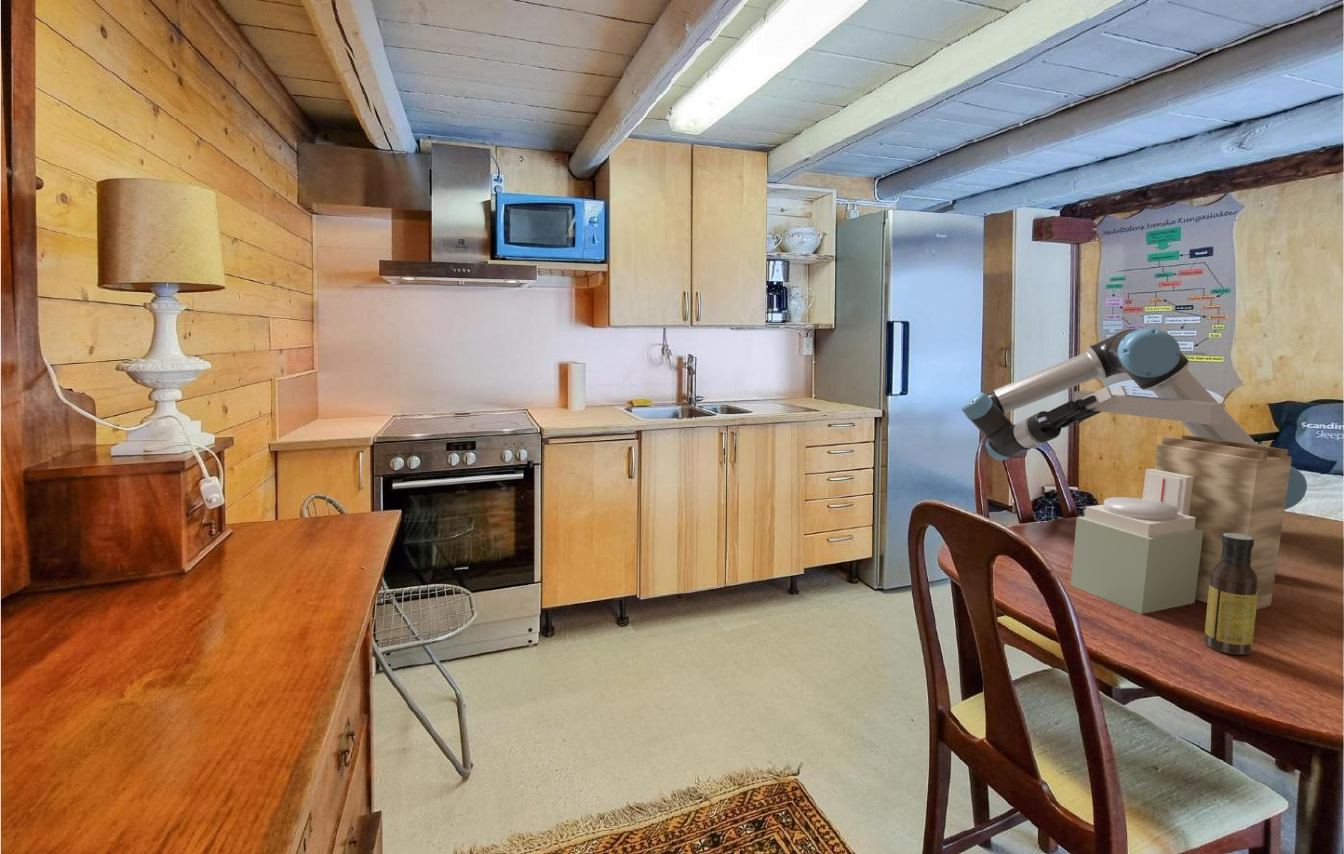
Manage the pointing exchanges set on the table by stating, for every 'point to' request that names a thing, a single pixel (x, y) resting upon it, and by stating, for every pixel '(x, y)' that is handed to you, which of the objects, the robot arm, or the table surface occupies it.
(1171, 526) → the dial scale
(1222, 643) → the sauce bottle
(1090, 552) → the block
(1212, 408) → the bar
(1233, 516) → the birch stand
